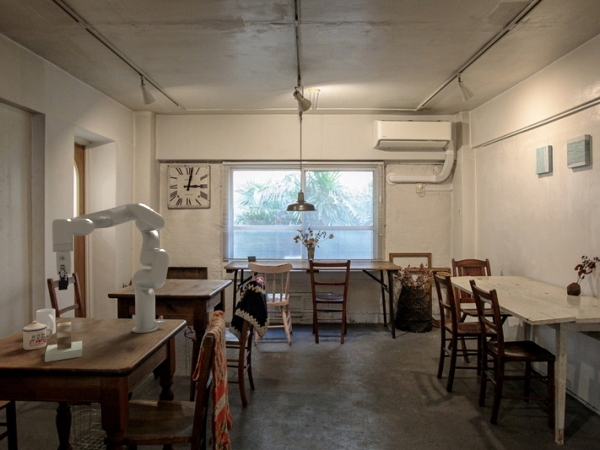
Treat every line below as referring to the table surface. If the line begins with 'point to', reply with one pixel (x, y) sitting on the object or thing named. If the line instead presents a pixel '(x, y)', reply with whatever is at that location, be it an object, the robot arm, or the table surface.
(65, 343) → the walnut block
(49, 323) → the mug
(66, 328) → the ash block
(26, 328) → the teacup with lid
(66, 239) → the robot arm
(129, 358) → the table surface
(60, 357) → the base board
